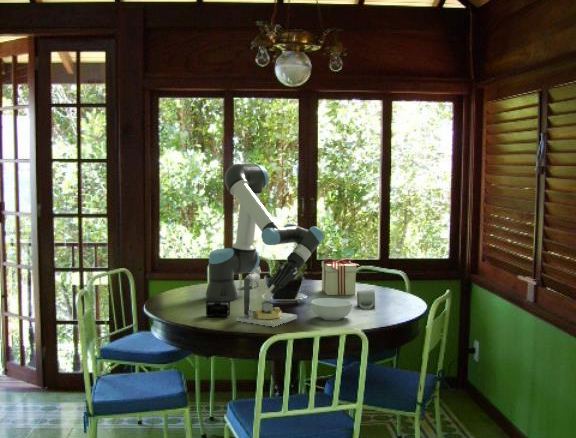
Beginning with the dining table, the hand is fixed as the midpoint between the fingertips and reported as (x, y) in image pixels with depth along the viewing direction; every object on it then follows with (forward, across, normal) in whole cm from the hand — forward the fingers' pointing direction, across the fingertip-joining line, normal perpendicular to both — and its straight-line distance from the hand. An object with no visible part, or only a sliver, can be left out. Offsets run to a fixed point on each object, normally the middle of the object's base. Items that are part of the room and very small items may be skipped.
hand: (266, 298), depth 287 cm
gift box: (-35, -22, +46) cm, 62 cm away
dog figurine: (-15, -60, +25) cm, 66 cm away
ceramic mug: (-28, +10, +39) cm, 49 cm away
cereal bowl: (-9, +20, +19) cm, 29 cm away
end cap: (+19, -8, -8) cm, 22 cm away
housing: (+8, +8, +2) cm, 12 cm away
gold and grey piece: (+8, +7, 0) cm, 10 cm away
